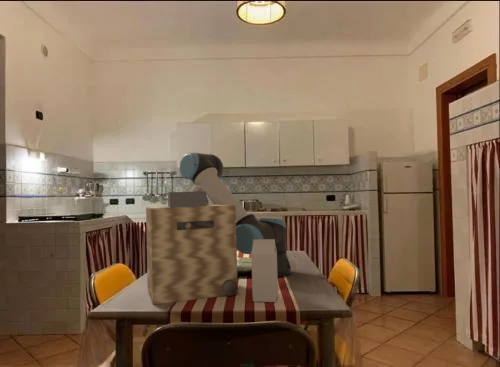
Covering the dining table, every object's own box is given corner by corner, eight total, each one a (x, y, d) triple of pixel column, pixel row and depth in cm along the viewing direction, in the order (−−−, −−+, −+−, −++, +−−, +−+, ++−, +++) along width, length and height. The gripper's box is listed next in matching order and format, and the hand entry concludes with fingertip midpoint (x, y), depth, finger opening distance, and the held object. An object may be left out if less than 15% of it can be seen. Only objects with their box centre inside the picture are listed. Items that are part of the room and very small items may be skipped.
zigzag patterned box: (222, 282, 142) (220, 204, 143) (239, 295, 123) (237, 205, 124) (147, 291, 132) (146, 207, 133) (153, 306, 113) (151, 208, 114)
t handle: (189, 204, 150) (188, 192, 150) (206, 206, 123) (206, 191, 123) (159, 206, 146) (158, 193, 146) (170, 207, 118) (169, 192, 119)
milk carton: (275, 302, 113) (273, 240, 114) (252, 302, 115) (250, 240, 115) (278, 296, 120) (276, 238, 121) (256, 295, 122) (255, 238, 122)
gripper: (195, 240, 171) (204, 219, 154) (139, 244, 162) (142, 222, 145) (193, 225, 174) (201, 203, 158) (138, 228, 166) (141, 205, 149)
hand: (173, 212), depth 151 cm, fingers open, 13 cm apart
